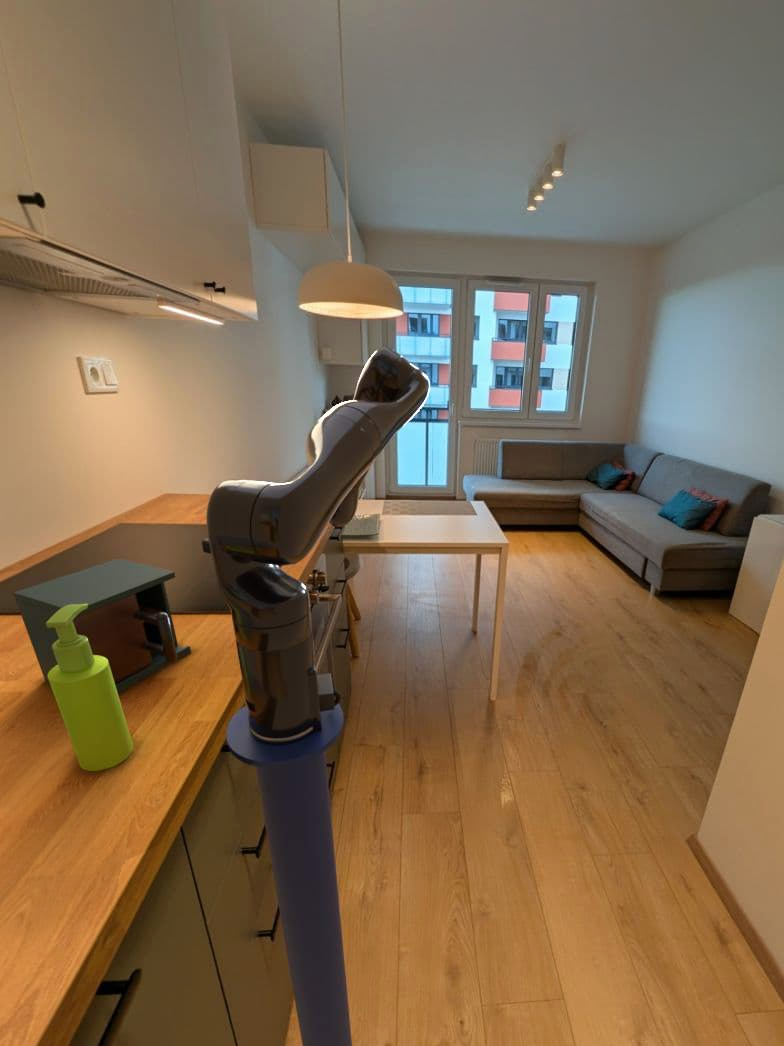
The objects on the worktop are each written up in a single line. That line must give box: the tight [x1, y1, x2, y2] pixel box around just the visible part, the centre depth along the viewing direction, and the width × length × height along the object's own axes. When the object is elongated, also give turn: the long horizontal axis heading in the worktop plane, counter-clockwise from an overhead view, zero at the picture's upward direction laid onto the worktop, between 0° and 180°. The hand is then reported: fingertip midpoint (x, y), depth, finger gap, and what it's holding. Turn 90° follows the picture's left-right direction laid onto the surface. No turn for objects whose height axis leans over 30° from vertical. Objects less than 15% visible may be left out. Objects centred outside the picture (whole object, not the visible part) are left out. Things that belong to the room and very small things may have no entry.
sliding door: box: [73, 594, 178, 685], centre depth 75 cm, size 8×10×13 cm
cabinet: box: [13, 558, 192, 694], centre depth 80 cm, size 13×16×15 cm
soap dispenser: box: [46, 604, 134, 772], centre depth 61 cm, size 6×7×20 cm
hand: (205, 547), depth 80 cm, fingers closed
